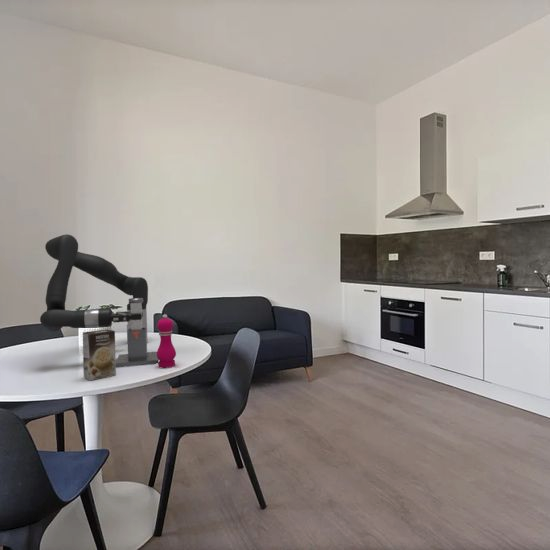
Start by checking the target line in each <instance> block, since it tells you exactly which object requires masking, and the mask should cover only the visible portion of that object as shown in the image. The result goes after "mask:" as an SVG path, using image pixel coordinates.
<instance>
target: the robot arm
mask: <svg viewBox="0 0 550 550" xmlns="http://www.w3.org/2000/svg"><path fill="white" fill-rule="evenodd" d="M44 248H45V251H46V253H47V255H49V257H50V258H53V260H56V261H58V262H57V265H56V267H55V269H54V272H53V273H52V276H51V277H50V279H49V282H48V285H47V288H46V293H45V294H46V295H45V304H46V305H45V306H46V311H44V312H43V313H42V314H41V315H40V318H39V322H40V323H41V324H40V325H42V326H43V327H44V328H45V329H47V330H48V331H50V332H58V331H60V330H61V329H63V327H64V328H65V327H66V328H67V327H68V328H72V329H87V328H88V329H93V328H94V329H96V328H110V327H112V325H113V323H125V322H126V323H127V324H126V332H127V331H128V329H130V328H131V321H132V320H141V319H142V328H145V327H146V332H147V333H148V317H147V314H148V313H147V304H148V302H149V301H148V300H149V286H148V284H149V283H148V281H147V280H146V279H145V278H144V277H140V276H139V277H138V276H137V277H132V276H129V275H128V276H127V275H125V274H123V273H122V272H120V271H119V270H118V268H117V267H116V266H115V265H114V263H113V262H110V261H108V260H107V259H105V258H104V257H102V256H98V255H93V254H91V253H90V254H89V253H85V252H80V251H79V243H78V240H77V238H76V237H75V236H74V235H71V234H67V233H66V234H62V235H59V236H56V237H54V238H52V239H49V240H48V241H47V242H46V243H45V247H44ZM73 268H77V269H78V270H80V271H82V272H85V273H86V274H88V275H90V276H92V277H94V278H96V279H98V280H100V281H102V282H104V283H106V284H109V285H111V286H113V287H115V288H117V290H120V291H121V292H123V293H124V294H125V295H127V296H132V298H143V302H142V315H141V314H132V316H131V305H130V303H129V302H128V303H127V305H126V311H116V312H115V313H113V311H112V308H110V307H106V308H105V307H103V308H90V309H82V310H81V309H79V310H77V309H76V310H69V309H66V300H67V293H68V287H69V281H70V277H71V275H72V274H71V273H72V270H73ZM126 342H127V344H128V341H126ZM147 343H148V339H147Z"/></svg>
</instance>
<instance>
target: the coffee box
mask: <svg viewBox="0 0 550 550" xmlns="http://www.w3.org/2000/svg"><path fill="white" fill-rule="evenodd" d="M82 360H83V361H82V362H83V363H82V364H83V366H82V367H83V370H82V371H83V378H84V377H85V378H84V379H86V378H87V379H86V380H88V379H89V380H88V381H94V379H95V380H99V379H98V378H100V379H103V377H105V378H108V376H109V377H113V375H114V376H116V375H117V367H116V360H117V358H116V330H113V329H100V330H99V329H98V330H92V331H83V332H82Z"/></svg>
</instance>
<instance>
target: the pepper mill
mask: <svg viewBox="0 0 550 550" xmlns="http://www.w3.org/2000/svg"><path fill="white" fill-rule="evenodd" d="M156 325H157V329H158V330H159V331H158V336H159V337H160V340H159V341H160V343H159V346H158V349H157V350H156V352H157V358H158V364H157V365H158V367H159V368H160V367H161V368H162V369H167V368H166V367H168V368H173V367H174V365H176V361H175V358H176V356H177V352H176V349H175V347H174V345H173V342H172V335H173V330H172V329H173V328H174V322H173V320H172V319H170V318H168V315H167V314H163V315H162V318H161V319H159V320H158V322H157V324H156ZM172 366H173V367H172Z"/></svg>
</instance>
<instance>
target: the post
mask: <svg viewBox="0 0 550 550" xmlns="http://www.w3.org/2000/svg"><path fill="white" fill-rule="evenodd" d="M142 302H143V298H133V297H131V298H128V304H129V303H130V305H131V316H132V314H141V315H142ZM132 330H142V319H141V320H132V321H131V331H132Z"/></svg>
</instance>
